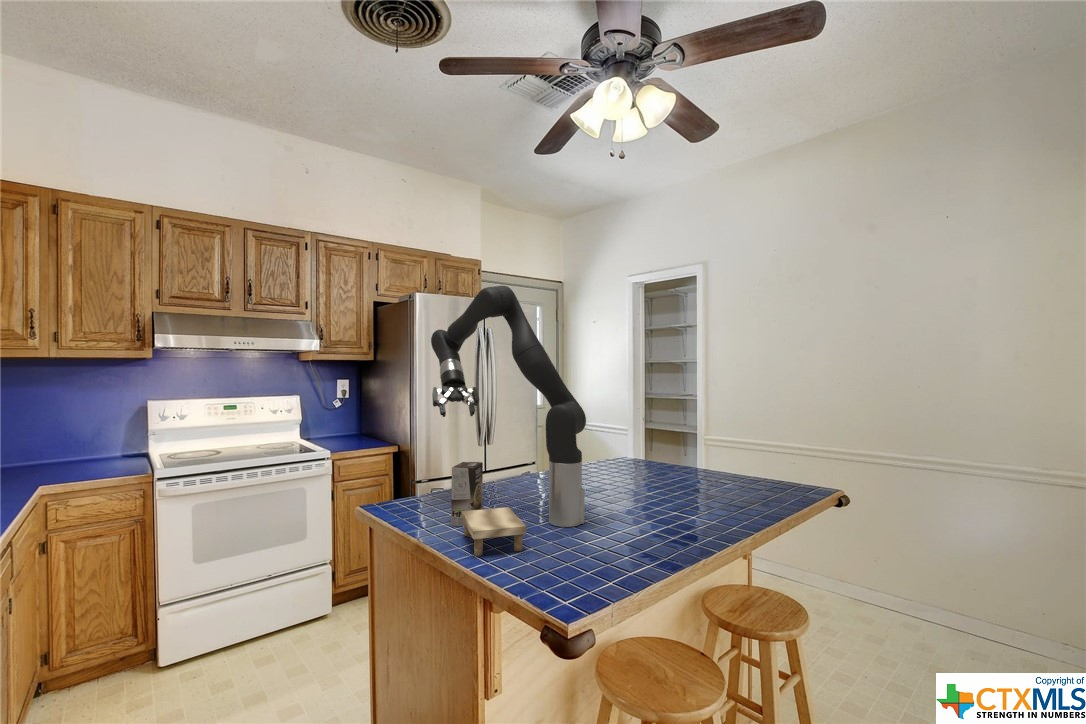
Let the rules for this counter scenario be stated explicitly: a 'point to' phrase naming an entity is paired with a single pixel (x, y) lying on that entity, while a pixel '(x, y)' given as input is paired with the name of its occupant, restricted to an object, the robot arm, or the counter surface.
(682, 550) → the counter surface
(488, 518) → the footstool
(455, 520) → the coffee box
